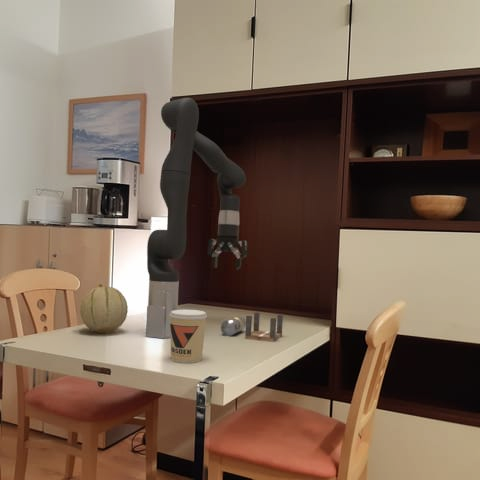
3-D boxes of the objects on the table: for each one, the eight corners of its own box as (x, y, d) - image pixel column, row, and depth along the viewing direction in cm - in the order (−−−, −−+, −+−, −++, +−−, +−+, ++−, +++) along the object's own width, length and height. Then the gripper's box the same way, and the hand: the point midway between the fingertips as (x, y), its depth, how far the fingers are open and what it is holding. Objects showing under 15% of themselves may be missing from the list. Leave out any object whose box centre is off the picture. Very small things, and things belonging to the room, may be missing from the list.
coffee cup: (160, 360, 121) (163, 312, 121) (178, 353, 130) (180, 308, 130) (194, 365, 118) (197, 315, 118) (210, 357, 126) (212, 311, 127)
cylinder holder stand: (273, 342, 151) (274, 318, 151) (245, 338, 154) (246, 316, 154) (282, 336, 160) (283, 314, 160) (254, 333, 164) (255, 312, 164)
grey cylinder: (235, 337, 156) (235, 321, 156) (220, 335, 158) (221, 319, 158) (245, 331, 166) (246, 316, 166) (231, 330, 168) (232, 315, 168)
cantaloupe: (103, 338, 144) (105, 288, 144) (68, 332, 151) (70, 284, 151) (136, 332, 157) (138, 285, 157) (103, 326, 164) (105, 282, 164)
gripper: (206, 222, 175) (204, 267, 174) (244, 223, 170) (241, 270, 170) (214, 223, 182) (211, 267, 181) (250, 225, 177) (248, 269, 177)
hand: (226, 268), depth 176 cm, fingers open, 8 cm apart
